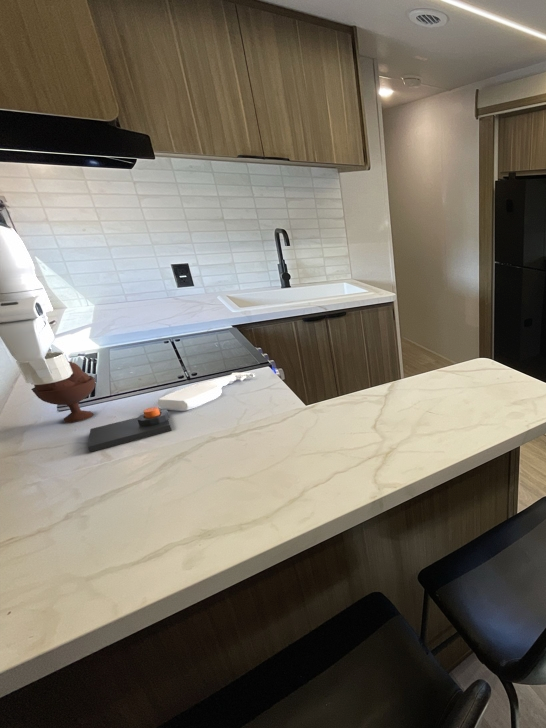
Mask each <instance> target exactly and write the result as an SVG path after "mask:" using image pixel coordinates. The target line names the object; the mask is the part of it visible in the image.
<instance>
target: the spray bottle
mask: <svg viewBox="0 0 546 728" xmlns="http://www.w3.org/2000/svg"><path fill="white" fill-rule="evenodd" d="M254 377H256V373H253V372H232V373H231V374H229V375H227V376H223V377H219V378H216V379H211V380H207V381H200V382H198V383H194V384H191V385H188V386H186V387H182V388H180V389H178V390H175V391H172V392H171V393H168V394H166V395H163V396H162V397H160V398H158V400H157V405H158V406H157V407H158V408H159V409H160V410H167V411H178V412H187V411H190V410H193V409H196V408H198V407H200V406H203V405H204V404H207V403H209V402H211V401H213V400H215V399H217V398H219V397H220V396H221V395H222V392H223V390H222V388H223V387H226V386H228V385H232V384H234V382H236V381H240V382H242V381H244V379H249V378H254Z"/></svg>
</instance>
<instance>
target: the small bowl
mask: <svg viewBox="0 0 546 728" xmlns="http://www.w3.org/2000/svg"><path fill="white" fill-rule="evenodd" d="M45 361H46V363H47V365H48V367H49V368H50V370H51V372H52V374H51V376H50V377H45V378H39V377H38V375H37V373H36V371H35V370H34V369H33V368H32V366H31V365H30V364H29V362H28V361H27V362H18V361H17V360H15V363H16V365H17V367H18V369H19V371H20V373H21V375H22V378H23V379H24V381H25V383H27V384H29V385H32V386H34V385H41V384H48V383H53V382H57V381H61V380H64V379H67V378H69V377H70V376H71V375H72V374H73V371H72V369H71V366H70V364H69V362H70V361H69V360H68V358H67V354H66V353H65V352H63V351H52V352H51V353H47V354H46V356H45ZM68 361H69V362H68Z"/></svg>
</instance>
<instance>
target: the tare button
mask: <svg viewBox="0 0 546 728" xmlns="http://www.w3.org/2000/svg"><path fill="white" fill-rule="evenodd" d="M159 410H160V408H159V406H151V407H148V408H145V409H144V410H142V411H143V414H144V415H145V418H152V417H156V416H158V415H160V411H159Z"/></svg>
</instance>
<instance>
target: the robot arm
mask: <svg viewBox="0 0 546 728" xmlns="http://www.w3.org/2000/svg"><path fill="white" fill-rule="evenodd" d="M34 264H35V263H34V261H33V260H32V258H31V256H30V253H29V251H28V249H27V248H26V246H25V244H24V242H23V240H22V239H21V238H20V236H19V234H18V233H17V231H16V230H15V229H14V228H13V227H11V226H10V225H8V224H6V223H4V222H1V221H0V339H1V340H2V342H3V344H4V346H5V347H6V349H7V350H8V352H9V353H10V355H11V356H12V358H13V359H15V361H18V362H27V361H28V362H29V364H30V365H31V366H32V368H33V369H34V370H35V371H36V373H37V375H38V377H39V378H45V377H50V376H51V374H52V372H51V370H50V368H49V367H48V365H47V363H46V361H45V356H46V354H47V353H51V352H53V348H52V345H53V344H54V342H55V340H56V339H55V334H54V332H53V329H52V328H51V325H50V323H49V321H48V320H49V317H48V316H47V314H48V313H51V312H53V311H54V308H53V306H52V303H51V301H50V299H49V297H48V294H47V292H46V289H45V287H44V285H43V284H42V283H41V282H40V281H39V279H38V277H37V275H36V272H35V265H34Z"/></svg>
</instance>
